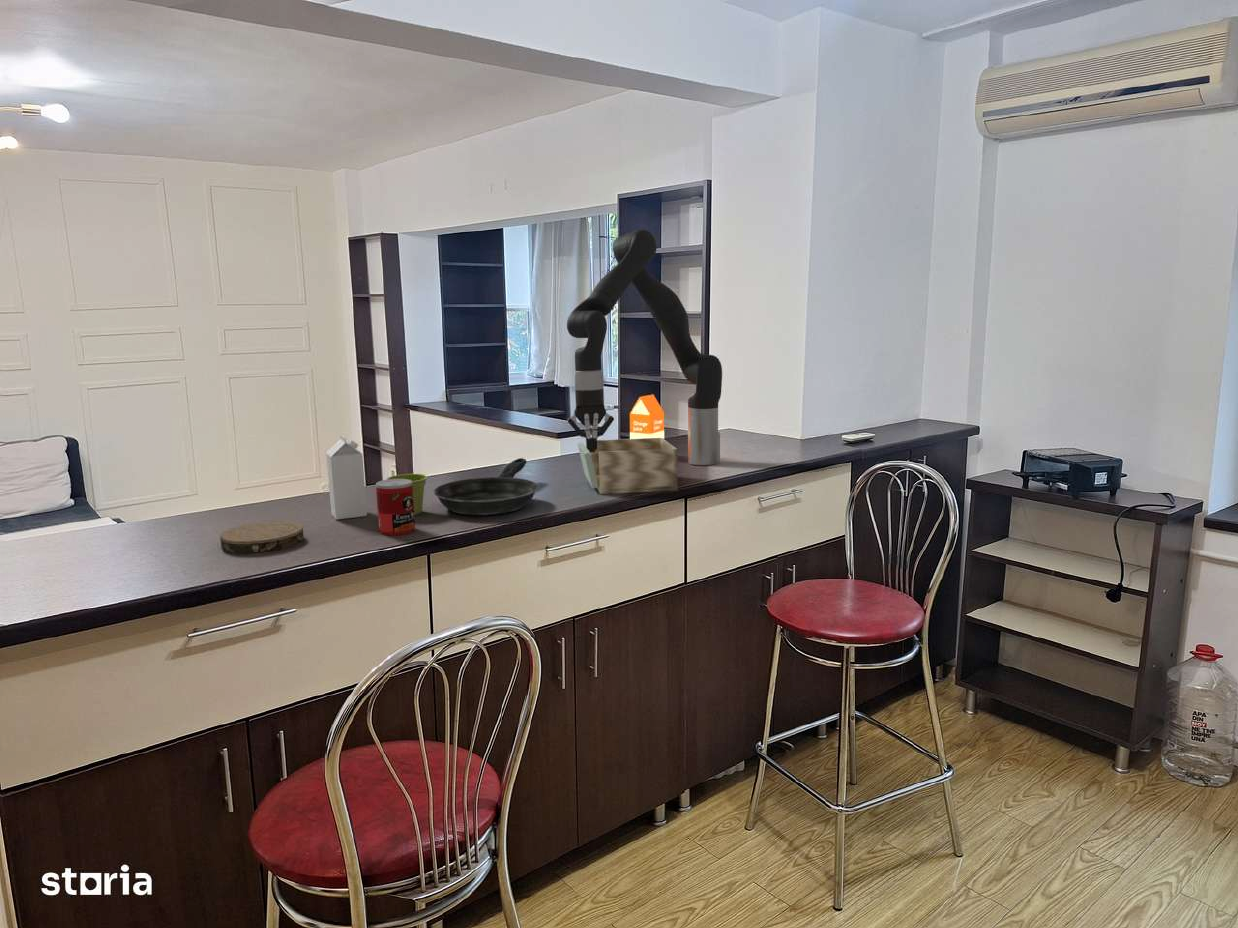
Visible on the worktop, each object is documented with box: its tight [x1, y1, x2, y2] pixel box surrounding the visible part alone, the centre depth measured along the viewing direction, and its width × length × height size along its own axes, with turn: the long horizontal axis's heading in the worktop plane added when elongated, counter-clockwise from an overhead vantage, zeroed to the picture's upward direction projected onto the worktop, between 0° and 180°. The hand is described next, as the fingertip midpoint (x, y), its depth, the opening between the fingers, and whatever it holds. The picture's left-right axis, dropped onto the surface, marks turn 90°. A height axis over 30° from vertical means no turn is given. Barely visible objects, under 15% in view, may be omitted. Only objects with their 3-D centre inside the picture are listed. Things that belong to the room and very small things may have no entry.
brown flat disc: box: [219, 520, 305, 555], centre depth 171 cm, size 16×16×3 cm
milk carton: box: [325, 434, 368, 520], centre depth 192 cm, size 7×7×19 cm
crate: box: [590, 438, 678, 495], centre depth 222 cm, size 20×20×11 cm
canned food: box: [375, 478, 416, 536], centre depth 178 cm, size 8×8×11 cm
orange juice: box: [629, 394, 665, 440], centre depth 261 cm, size 8×9×20 cm
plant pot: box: [385, 473, 428, 516], centre depth 194 cm, size 9×9×9 cm
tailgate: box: [577, 441, 598, 489], centre depth 220 cm, size 2×17×9 cm, turn 9°
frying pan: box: [433, 457, 539, 516], centre depth 208 cm, size 44×25×7 cm, turn 168°
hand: (591, 451), depth 219 cm, fingers closed
